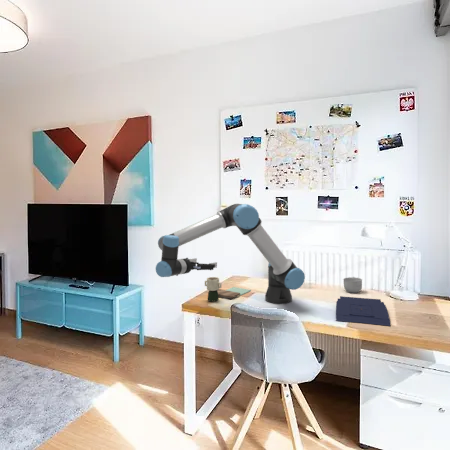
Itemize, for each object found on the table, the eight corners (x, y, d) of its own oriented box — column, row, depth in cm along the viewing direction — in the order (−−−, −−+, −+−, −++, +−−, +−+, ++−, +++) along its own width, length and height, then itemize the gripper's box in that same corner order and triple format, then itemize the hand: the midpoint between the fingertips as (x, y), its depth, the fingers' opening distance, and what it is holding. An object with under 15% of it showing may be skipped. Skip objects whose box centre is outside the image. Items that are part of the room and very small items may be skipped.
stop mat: (251, 290, 227) (251, 289, 226) (240, 295, 217) (240, 294, 217) (233, 287, 234) (233, 286, 234) (222, 292, 224) (222, 291, 224)
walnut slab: (240, 296, 215) (240, 292, 215) (231, 300, 208) (231, 296, 208) (218, 292, 224) (218, 288, 224) (209, 295, 217) (209, 292, 217)
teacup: (359, 295, 216) (359, 281, 215) (340, 292, 222) (341, 279, 221) (364, 289, 228) (365, 277, 227) (347, 287, 234) (347, 275, 233)
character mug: (224, 300, 207) (224, 278, 206) (218, 304, 201) (218, 280, 200) (208, 297, 212) (208, 276, 211) (201, 301, 206) (201, 278, 205)
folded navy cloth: (384, 304, 195) (384, 298, 194) (391, 331, 167) (391, 324, 166) (336, 300, 202) (336, 294, 201) (335, 326, 174) (335, 318, 173)
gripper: (162, 269, 188) (187, 265, 206) (201, 278, 175) (224, 273, 193) (163, 255, 187) (188, 252, 205) (202, 263, 174) (226, 259, 192)
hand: (206, 262), depth 199 cm, fingers open, 13 cm apart
